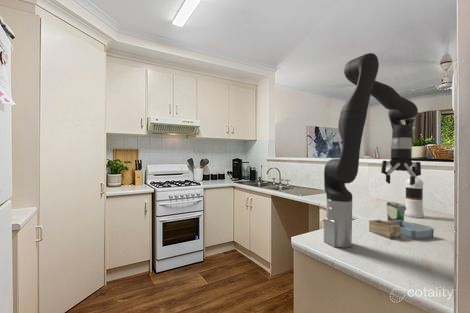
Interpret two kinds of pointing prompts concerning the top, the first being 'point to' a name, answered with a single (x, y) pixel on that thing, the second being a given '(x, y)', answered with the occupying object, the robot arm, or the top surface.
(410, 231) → the crate
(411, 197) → the vodka
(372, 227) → the small crate
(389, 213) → the food container
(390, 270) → the top surface
